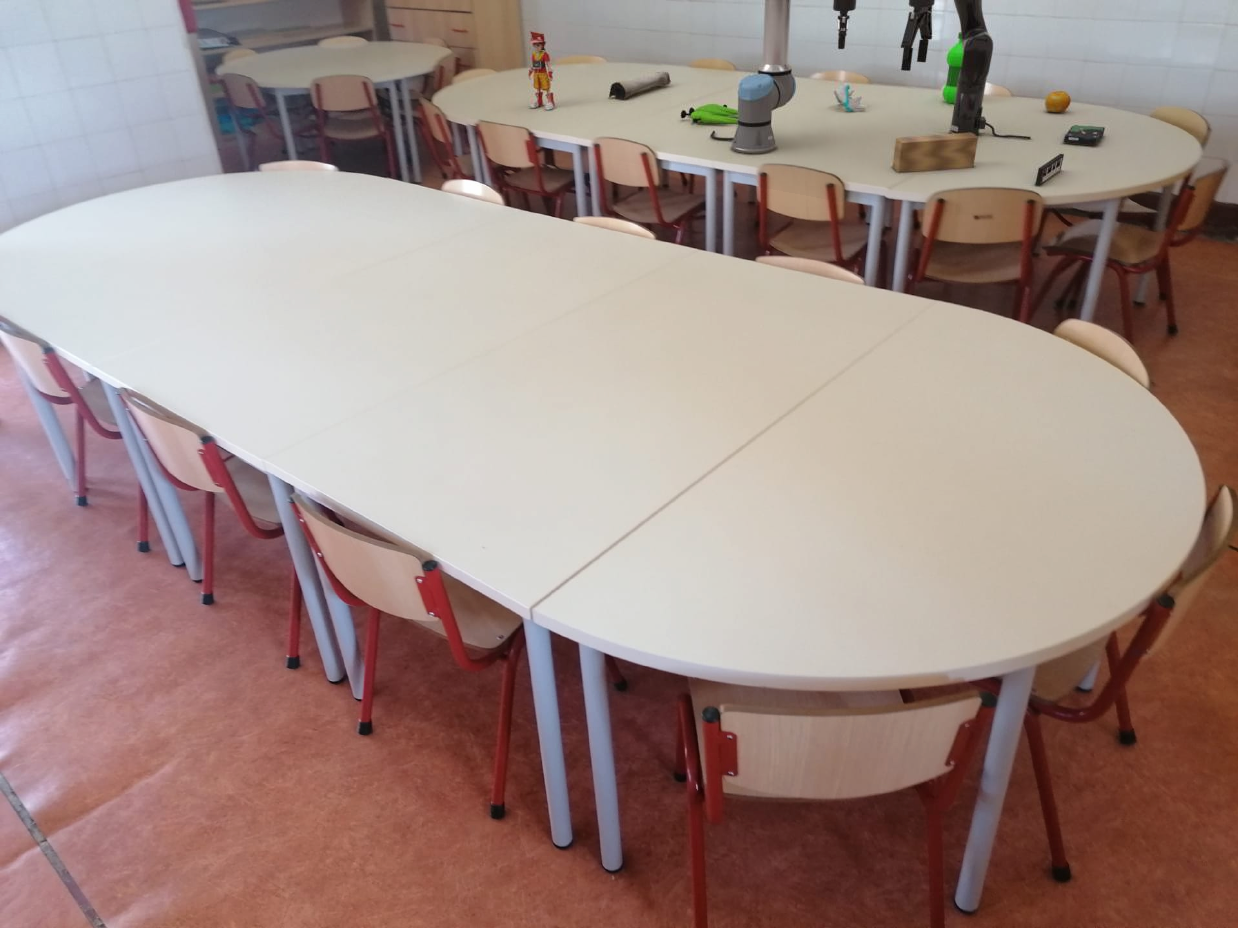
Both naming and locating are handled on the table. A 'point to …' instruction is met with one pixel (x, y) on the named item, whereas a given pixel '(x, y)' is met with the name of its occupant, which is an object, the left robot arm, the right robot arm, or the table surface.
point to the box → (935, 152)
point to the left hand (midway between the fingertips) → (913, 66)
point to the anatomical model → (847, 98)
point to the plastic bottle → (953, 70)
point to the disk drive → (1084, 135)
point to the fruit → (1057, 101)
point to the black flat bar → (1049, 169)
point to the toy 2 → (711, 114)
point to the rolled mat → (638, 84)
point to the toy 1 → (541, 71)
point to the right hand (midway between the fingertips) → (841, 46)
